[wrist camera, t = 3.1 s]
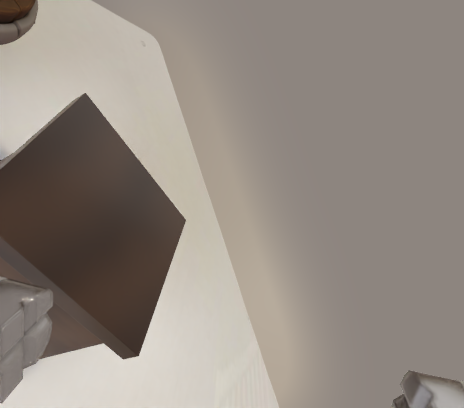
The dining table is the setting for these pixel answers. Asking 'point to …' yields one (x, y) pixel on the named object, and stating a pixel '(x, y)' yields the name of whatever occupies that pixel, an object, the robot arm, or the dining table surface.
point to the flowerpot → (16, 18)
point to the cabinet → (87, 231)
